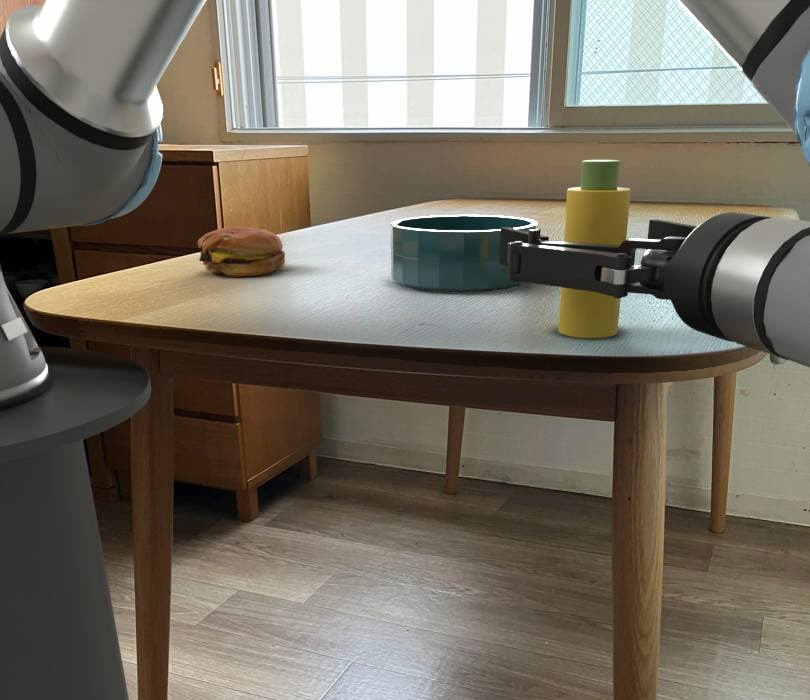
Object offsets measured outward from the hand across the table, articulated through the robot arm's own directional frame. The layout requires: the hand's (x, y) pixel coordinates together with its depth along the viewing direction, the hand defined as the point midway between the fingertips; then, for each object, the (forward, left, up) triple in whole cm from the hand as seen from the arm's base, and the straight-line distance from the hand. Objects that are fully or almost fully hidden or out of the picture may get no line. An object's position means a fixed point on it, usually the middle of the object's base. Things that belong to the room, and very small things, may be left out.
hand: (579, 240), depth 72 cm
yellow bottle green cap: (+2, -2, -7) cm, 7 cm away
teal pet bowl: (-18, +15, -7) cm, 25 cm away
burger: (-44, +10, -7) cm, 46 cm away
